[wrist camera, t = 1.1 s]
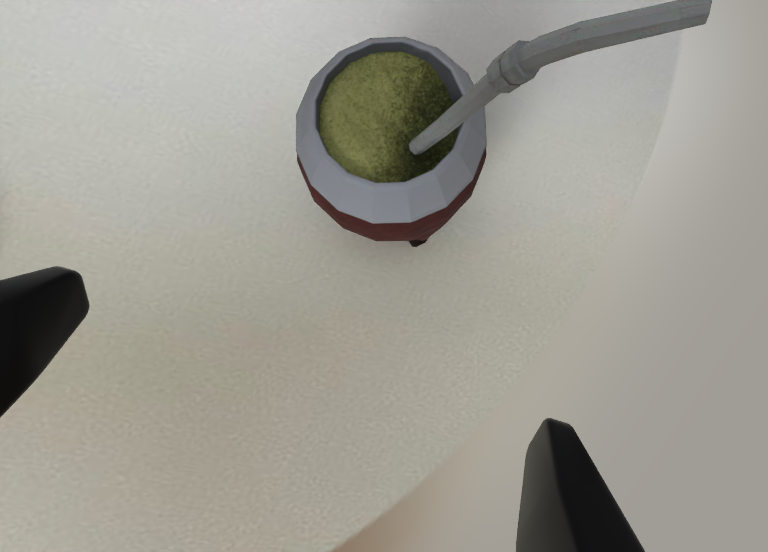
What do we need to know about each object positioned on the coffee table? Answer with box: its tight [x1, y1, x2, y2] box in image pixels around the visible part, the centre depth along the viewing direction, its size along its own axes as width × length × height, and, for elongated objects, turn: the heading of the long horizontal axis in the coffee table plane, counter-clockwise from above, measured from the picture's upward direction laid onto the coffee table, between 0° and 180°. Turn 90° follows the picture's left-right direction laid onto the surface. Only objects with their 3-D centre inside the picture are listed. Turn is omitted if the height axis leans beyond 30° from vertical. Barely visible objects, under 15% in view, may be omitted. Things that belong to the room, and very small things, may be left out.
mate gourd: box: [296, 0, 712, 247], centre depth 15 cm, size 8×8×15 cm
